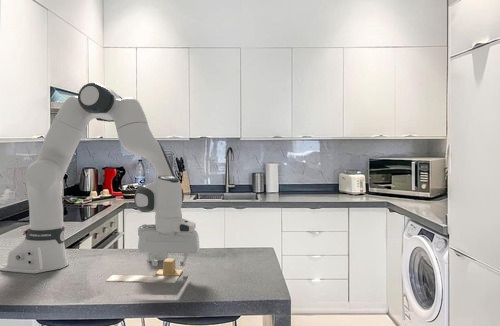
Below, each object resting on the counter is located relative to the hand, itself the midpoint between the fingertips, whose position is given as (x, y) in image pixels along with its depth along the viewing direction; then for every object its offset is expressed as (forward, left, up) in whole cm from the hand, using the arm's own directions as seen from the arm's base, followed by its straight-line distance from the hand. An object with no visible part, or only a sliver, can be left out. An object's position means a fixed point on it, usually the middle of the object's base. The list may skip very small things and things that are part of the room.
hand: (168, 265), depth 155 cm
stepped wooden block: (0, 0, -3) cm, 3 cm away
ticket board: (-7, -3, -4) cm, 9 cm away
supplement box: (-9, +20, -4) cm, 22 cm away
